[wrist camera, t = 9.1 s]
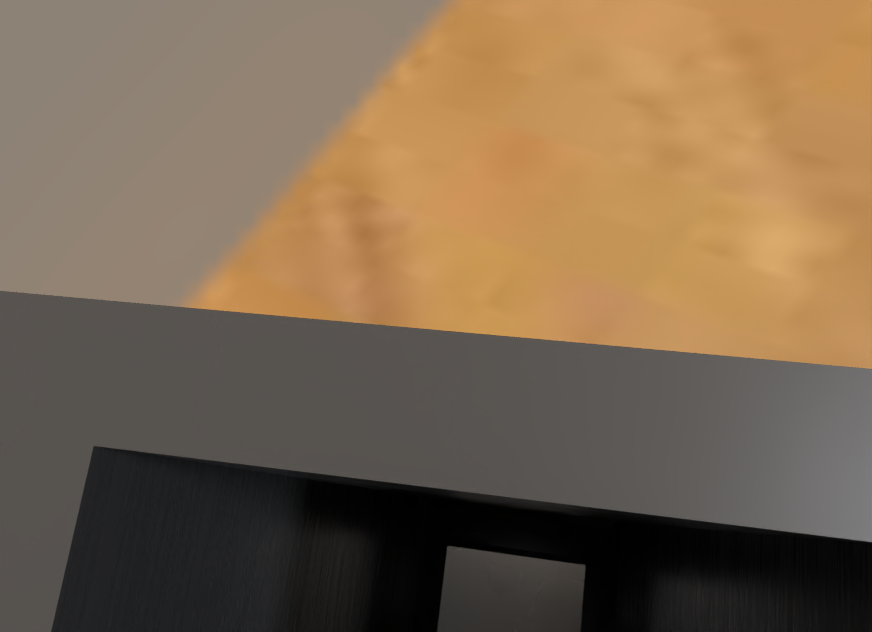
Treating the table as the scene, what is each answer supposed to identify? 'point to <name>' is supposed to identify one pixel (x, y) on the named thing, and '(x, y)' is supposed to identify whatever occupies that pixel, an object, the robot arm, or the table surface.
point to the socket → (407, 470)
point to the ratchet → (515, 571)
